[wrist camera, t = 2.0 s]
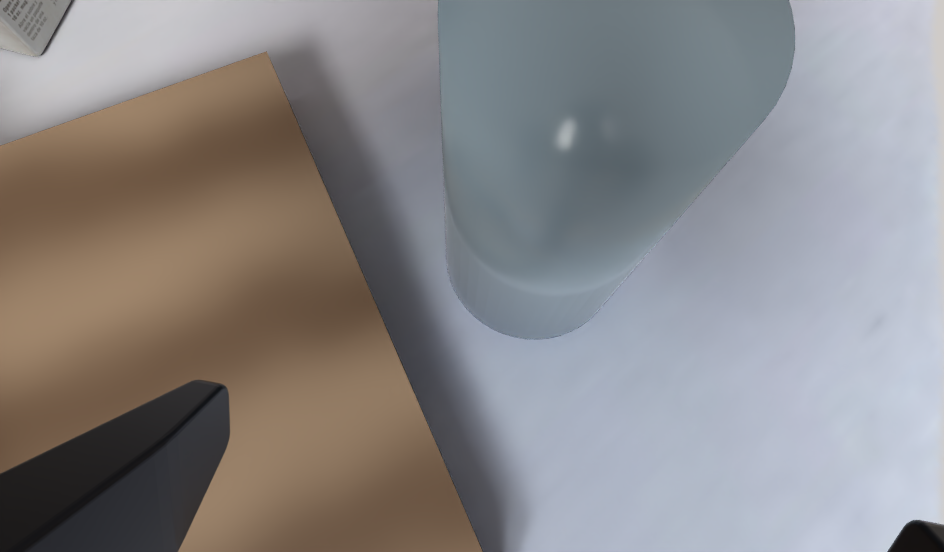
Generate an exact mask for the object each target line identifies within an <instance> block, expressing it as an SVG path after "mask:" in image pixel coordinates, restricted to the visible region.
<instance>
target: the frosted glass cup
mask: <svg viewBox="0 0 944 552" xmlns="http://www.w3.org/2000/svg"><path fill="white" fill-rule="evenodd" d="M438 36H439V65H440V95H441V124H442V153H443V182H444V211H445V240H446V262H447V270H448V274H449V278H450V281H451V284H452V286H453V289H454V291H455V293H456V294H457V296H458V298H459V300H460V301H461V302H462V304H463V305H464V306H465V308H466V309H467V310H468V311H469V312H470V313H471V314H472V315H473V316H474V317H475V318H477V319H478V320H479V321H481V322H482V323H483V324H485V325H486V326H488V327H490V328H491V329H493V330H496V331H498V332H500V333H502V334H505V335H509V336H512V337H516V338H523V339H547V338H552V337H557V336H561V335H563V334H566V333H569V332H571V331H573V330H575V329H577V328H578V327H580V326H582V325H583V324H585V323H586V322H587V321H589V320H590V319H591V318H592V317H593V316H594V315H595V314H596V313H597V312H598V311H599V310H600V309H601V307H602V306H603V305H604V304H605V303H606V302H607V300H608V299H609V298H610V297H611V296H612V295H613V294H614V292H615V291H616V290H617V289H618V288H619V287H620V286H621V284H622V283H623V282H624V281H625V280H626V279H627V277H628V276H629V275H630V274H631V273H632V272H633V271H634V269H635V268H636V267H637V266H638V265H639V264H640V262H641V261H642V260H643V259H644V258H645V257H646V256H647V254H648V253H649V252H650V251H651V250H652V249H653V248H654V246H655V245H656V244H657V243H658V242H659V241H660V239H661V238H662V237H663V236H664V235H665V234H666V233H667V231H668V230H669V229H670V228H671V227H672V226H673V224H674V223H675V222H676V221H677V220H678V219H679V218H680V216H681V215H682V214H683V213H684V212H685V211H686V210H687V208H688V207H689V206H690V205H691V204H692V203H693V201H694V200H695V199H696V198H697V197H698V196H699V195H700V193H701V192H702V191H703V190H704V189H705V188H706V186H707V185H708V184H709V183H710V182H711V181H712V180H713V178H714V177H715V176H716V175H717V174H718V173H719V172H720V170H721V169H722V168H723V167H724V166H725V165H726V163H727V162H728V161H729V160H730V159H731V158H732V157H733V155H734V154H735V153H736V152H737V151H738V150H739V148H740V147H741V146H742V145H743V144H744V143H745V142H746V140H747V139H748V138H749V137H750V136H751V135H752V133H753V132H754V131H755V130H756V129H757V128H758V127H759V125H760V124H761V123H762V122H763V121H764V120H765V118H766V117H767V116H768V114H769V113H770V112H771V110H772V109H773V108H774V106H775V105H776V103H777V102H778V100H779V98H780V96H781V94H782V92H783V90H784V88H785V86H786V83H787V80H788V77H789V74H790V71H791V68H792V63H793V57H794V51H795V27H794V21H793V15H792V9H791V6H790V3H789V0H438Z"/></svg>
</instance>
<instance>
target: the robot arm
mask: <svg viewBox="0 0 944 552" xmlns="http://www.w3.org/2000/svg"><path fill="white" fill-rule="evenodd" d="M229 437H230V410H229V392H228V389H227V387H226V386H225V385H224V384H221V383H216V382H211V381H206V380H193V381H190V382H188V383H186V384H184V385H182V386H180V387H178V388H176V389H174V390H172V391H169V392H167V393H165V394H163V395H161V396H159V397H157V398H155V399H153V400H151V401H149V402H147V403H145V404H143V405H141V406H139V407H136V408H134V409H132V410H130V411H128V412H126V413H124V414H122V415H120V416H118V417H116V418H114V419H112V420H110V421H108V422H105V423H103V424H101V425H99V426H97V427H95V428H93V429H91V430H89V431H87V432H85V433H83V434H81V435H79V436H77V437H74V438H72V439H70V440H68V441H66V442H64V443H62V444H60V445H58V446H56V447H54V448H52V449H50V450H48V451H46V452H44V453H41V454H39V455H37V456H35V457H33V458H31V459H29V460H27V461H25V462H23V463H21V464H19V465H17V466H15V467H13V468H10V469H8V470H6V471H4V472H2V473H0V552H178V551H179V549H180V547H181V545H182V543H183V541H184V539H185V537H186V535H187V532H188V530H189V528H190V526H191V524H192V522H193V520H194V517H195V515H196V513H197V511H198V509H199V507H200V505H201V502H202V500H203V498H204V496H205V494H206V492H207V490H208V487H209V485H210V483H211V481H212V479H213V477H214V474H215V472H216V470H217V468H218V466H219V464H220V462H221V459H222V457H223V455H224V453H225V451H226V448H227V445H228V442H229ZM887 552H944V525H942V524H937V523H932V522H927V521H922V520H912V521H911V522H909V523H907V524H906V525H905V526H904V527H903V529H902V530H901V532H900V533H899V535H898V536H897V538H896V539H895V541H894V542H893V544H892V545H891V547H890V548H889V550H888V551H887Z"/></svg>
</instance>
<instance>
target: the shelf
mask: <svg viewBox="0 0 944 552" xmlns="http://www.w3.org/2000/svg"><path fill="white" fill-rule="evenodd" d="M193 380H206V381H211V382H216V383H221V384H224V385H225V386H226V387H227V389H228V392H229V410H230V437H229V442H228V445H227V448H226V451H225V453H224V455H223V457H222V459H221V462H220V464H219V466H218V468H217V470H216V472H215V474H214V477H213V479H212V481H211V483H210V485H209V487H208V490H207V492H206V494H205V496H204V498H203V500H202V502H201V505H200V507H199V509H198V511H197V513H196V515H195V517H194V520H193V522H192V524H191V526H190V528H189V530H188V532H187V535H186V537H185V539H184V541H183V543H182V545H181V547H180V549H179V551H178V552H483V551H482V548H481V546H480V544H479V541H478V539H477V537H476V534H475V532H474V530H473V528H472V525H471V523H470V521H469V518H468V516H467V514H466V511H465V509H464V507H463V504H462V502H461V500H460V497H459V495H458V493H457V490H456V488H455V486H454V484H453V481H452V479H451V477H450V474H449V472H448V470H447V467H446V465H445V463H444V460H443V458H442V456H441V453H440V451H439V449H438V447H437V444H436V442H435V440H434V437H433V435H432V433H431V430H430V428H429V426H428V423H427V421H426V419H425V416H424V414H423V412H422V409H421V407H420V405H419V403H418V400H417V398H416V396H415V393H414V391H413V389H412V386H411V384H410V382H409V379H408V377H407V375H406V372H405V370H404V368H403V365H402V363H401V361H400V359H399V356H398V354H397V352H396V349H395V347H394V345H393V342H392V340H391V338H390V335H389V333H388V331H387V328H386V326H385V324H384V321H383V319H382V317H381V315H380V312H379V310H378V308H377V305H376V303H375V301H374V298H373V296H372V294H371V291H370V289H369V287H368V284H367V282H366V280H365V277H364V275H363V273H362V271H361V268H360V266H359V264H358V261H357V259H356V257H355V254H354V252H353V250H352V247H351V245H350V243H349V240H348V238H347V236H346V234H345V231H344V229H343V227H342V224H341V222H340V220H339V217H338V215H337V213H336V210H335V208H334V206H333V203H332V201H331V199H330V196H329V194H328V192H327V190H326V187H325V185H324V183H323V180H322V178H321V176H320V173H319V171H318V169H317V166H316V164H315V162H314V159H313V157H312V155H311V152H310V150H309V148H308V146H307V143H306V141H305V139H304V136H303V134H302V132H301V129H300V127H299V125H298V122H297V120H296V118H295V115H294V113H293V111H292V108H291V106H290V104H289V102H288V99H287V97H286V95H285V92H284V90H283V88H282V86H281V83H280V81H279V79H278V76H277V74H276V72H275V70H274V67H273V65H272V63H271V60H270V58H269V56H268V54H267V51H266V52H263V53H261V54H258V55H255V56H252V57H249V58H247V59H244V60H241V61H238V62H235V63H232V64H230V65H227V66H224V67H221V68H218V69H216V70H213V71H210V72H207V73H204V74H201V75H199V76H196V77H193V78H190V79H187V80H184V81H182V82H179V83H176V84H173V85H170V86H168V87H165V88H162V89H159V90H156V91H153V92H151V93H148V94H145V95H142V96H139V97H137V98H134V99H131V100H128V101H125V102H122V103H120V104H117V105H114V106H111V107H108V108H105V109H103V110H100V111H97V112H94V113H91V114H89V115H86V116H83V117H80V118H77V119H74V120H72V121H69V122H66V123H63V124H60V125H58V126H55V127H52V128H49V129H46V130H43V131H41V132H38V133H35V134H32V135H29V136H27V137H24V138H21V139H18V140H15V141H12V142H10V143H7V144H4V145H1V146H0V473H2V472H4V471H6V470H8V469H10V468H13V467H15V466H17V465H19V464H21V463H23V462H25V461H27V460H29V459H31V458H33V457H35V456H37V455H39V454H41V453H44V452H46V451H48V450H50V449H52V448H54V447H56V446H58V445H60V444H62V443H64V442H66V441H68V440H70V439H72V438H74V437H77V436H79V435H81V434H83V433H85V432H87V431H89V430H91V429H93V428H95V427H97V426H99V425H101V424H103V423H105V422H108V421H110V420H112V419H114V418H116V417H118V416H120V415H122V414H124V413H126V412H128V411H130V410H132V409H134V408H136V407H139V406H141V405H143V404H145V403H147V402H149V401H151V400H153V399H155V398H157V397H159V396H161V395H163V394H165V393H167V392H169V391H172V390H174V389H176V388H178V387H180V386H182V385H184V384H186V383H188V382H190V381H193Z"/></svg>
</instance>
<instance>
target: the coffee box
mask: <svg viewBox="0 0 944 552" xmlns="http://www.w3.org/2000/svg"><path fill="white" fill-rule="evenodd" d="M70 2H71V0H0V48H1V49H5V50H9V51H13V52H17V53H21V54H25V55H30V56H34V57H36V56H39V55H41V54H42V52H43V51H44V49H45V47H46V45H47V44H48V42H49V40H50V38H51V36H52V35H53V33H54V31H55V29H56V27H57V26H58V24H59V22H60V20H61V18H62V17H63V15H64V13H65V11H66V9H67V7H68V6H69V4H70Z"/></svg>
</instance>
